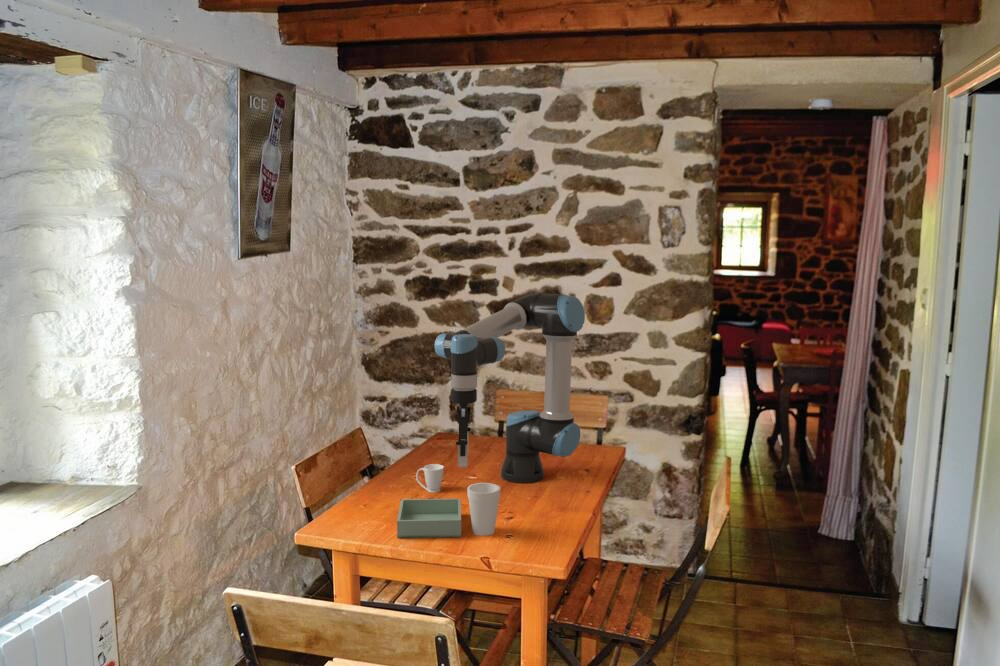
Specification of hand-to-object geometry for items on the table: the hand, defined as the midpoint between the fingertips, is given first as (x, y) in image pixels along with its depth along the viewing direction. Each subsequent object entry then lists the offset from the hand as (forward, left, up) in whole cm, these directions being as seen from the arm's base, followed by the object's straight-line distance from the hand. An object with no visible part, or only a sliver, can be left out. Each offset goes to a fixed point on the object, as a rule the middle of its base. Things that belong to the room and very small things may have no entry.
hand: (463, 459), depth 235 cm
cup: (+11, -31, -20) cm, 39 cm away
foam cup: (-6, +6, -20) cm, 22 cm away
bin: (+10, +1, -20) cm, 22 cm away
